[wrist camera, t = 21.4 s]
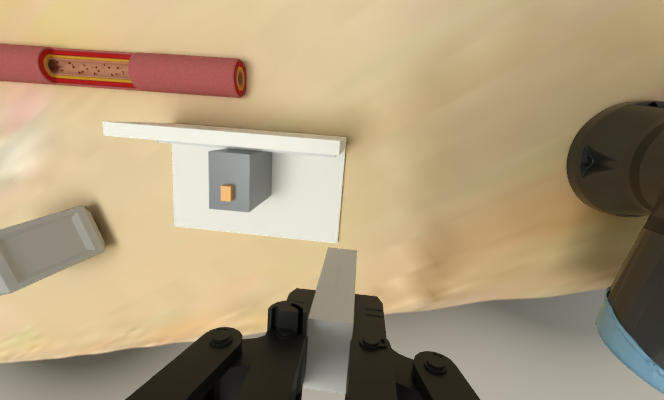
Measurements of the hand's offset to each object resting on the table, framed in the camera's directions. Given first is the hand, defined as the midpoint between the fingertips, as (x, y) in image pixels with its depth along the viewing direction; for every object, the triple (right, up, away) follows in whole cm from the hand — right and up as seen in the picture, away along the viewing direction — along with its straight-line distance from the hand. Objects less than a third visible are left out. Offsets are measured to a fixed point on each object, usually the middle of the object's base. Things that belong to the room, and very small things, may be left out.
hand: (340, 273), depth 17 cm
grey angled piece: (-52, -5, +39) cm, 65 cm away
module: (-12, +8, +32) cm, 35 cm away
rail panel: (-12, +6, +33) cm, 36 cm away
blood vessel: (-34, +23, +32) cm, 52 cm away
